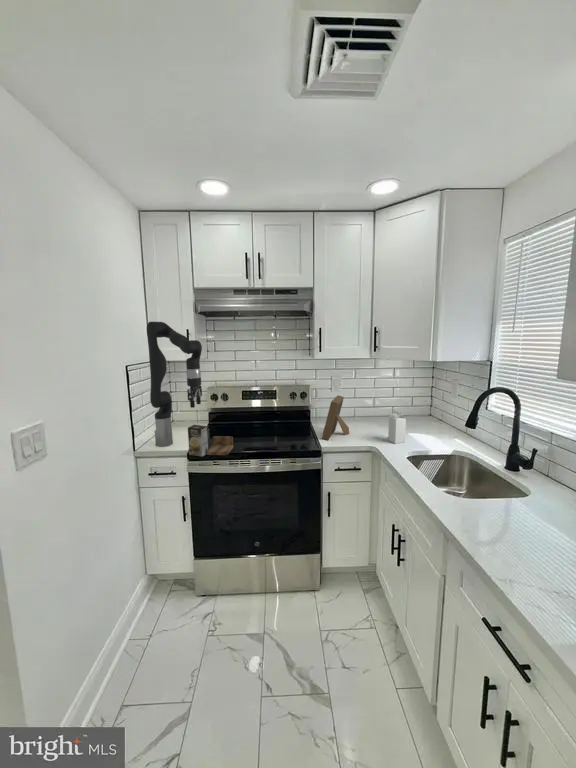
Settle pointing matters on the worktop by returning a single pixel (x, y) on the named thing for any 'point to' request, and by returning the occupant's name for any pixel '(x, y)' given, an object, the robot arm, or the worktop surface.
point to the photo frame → (334, 419)
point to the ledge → (221, 445)
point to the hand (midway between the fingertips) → (195, 405)
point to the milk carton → (397, 427)
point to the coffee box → (197, 440)
